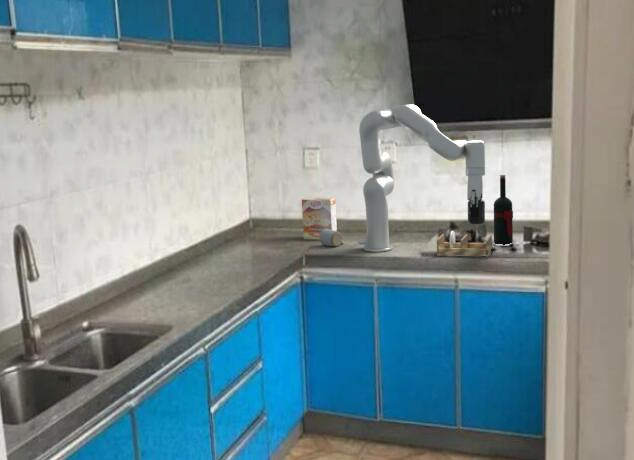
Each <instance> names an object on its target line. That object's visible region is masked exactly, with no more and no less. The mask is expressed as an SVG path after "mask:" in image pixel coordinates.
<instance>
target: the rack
mask: <svg viewBox="0 0 634 460" xmlns="http://www.w3.org/2000/svg"><path fill="white" fill-rule="evenodd" d="M468 235H469V234H464V236H463V237H461V240H460V242H455V248H450V242H449V241H448V242H447V241H445V233H442V234H440V235H439V237H438V238H437V239H436V256H437V257H455V256H454V255H467V256H488V254H489V253H490V251H491V249H492V250H493V244H492V242H493V237H492V236H493V235H492V234H489V235H488V237H487V238H486V239H485V242H469V241H468V239H469V236H468ZM491 252H492V251H491ZM490 254H491V253H490ZM488 257H489V256H488Z"/></svg>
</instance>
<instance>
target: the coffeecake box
mask: <svg viewBox="0 0 634 460" xmlns="http://www.w3.org/2000/svg"><path fill="white" fill-rule="evenodd" d="M336 204H337V203H336V197H304V198H302V199H301V212H302V214H301V215H302V231H303V232H302V233H303V240H319V241H320V234H321V232H322V231H323V230H324V229H330V230H334V231H338V227H337V226H338V225H337V205H336Z"/></svg>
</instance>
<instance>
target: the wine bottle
mask: <svg viewBox="0 0 634 460" xmlns="http://www.w3.org/2000/svg"><path fill="white" fill-rule="evenodd" d="M499 182H500V183H499V195H500V197H498V198H496V199H495V201H494V202H493V244H494V243H495V244H503V245H505V244H510V243H512V242H513V241H514V240H513V239H514V238H513V237H514V236H513V235H514V234H513V233H514V231H513V219H514V210H513V202H512V200H511V199H510V198H509V197H506V189H507V188H506V175H505V174H499ZM513 243H514V242H513Z"/></svg>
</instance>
